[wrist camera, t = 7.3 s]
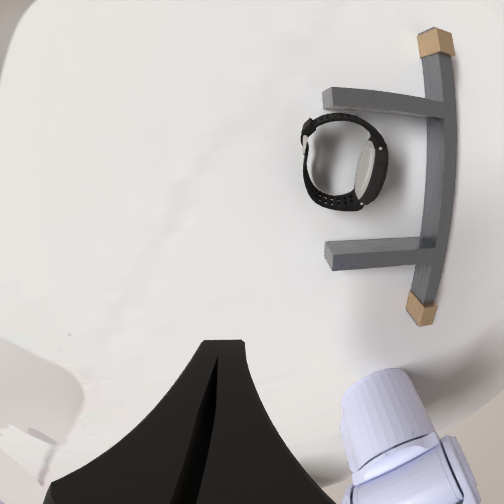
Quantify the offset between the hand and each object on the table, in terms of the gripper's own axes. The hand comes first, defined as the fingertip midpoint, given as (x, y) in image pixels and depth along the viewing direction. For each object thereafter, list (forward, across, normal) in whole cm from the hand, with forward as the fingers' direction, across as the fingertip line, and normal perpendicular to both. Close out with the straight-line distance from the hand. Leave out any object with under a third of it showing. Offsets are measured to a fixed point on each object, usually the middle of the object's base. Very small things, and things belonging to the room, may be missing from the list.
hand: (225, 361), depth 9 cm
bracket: (+9, -10, -5) cm, 14 cm away
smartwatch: (+9, -5, -3) cm, 10 cm away
